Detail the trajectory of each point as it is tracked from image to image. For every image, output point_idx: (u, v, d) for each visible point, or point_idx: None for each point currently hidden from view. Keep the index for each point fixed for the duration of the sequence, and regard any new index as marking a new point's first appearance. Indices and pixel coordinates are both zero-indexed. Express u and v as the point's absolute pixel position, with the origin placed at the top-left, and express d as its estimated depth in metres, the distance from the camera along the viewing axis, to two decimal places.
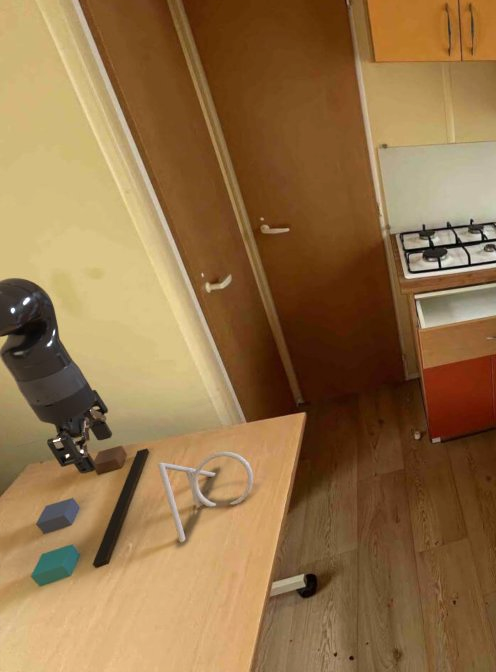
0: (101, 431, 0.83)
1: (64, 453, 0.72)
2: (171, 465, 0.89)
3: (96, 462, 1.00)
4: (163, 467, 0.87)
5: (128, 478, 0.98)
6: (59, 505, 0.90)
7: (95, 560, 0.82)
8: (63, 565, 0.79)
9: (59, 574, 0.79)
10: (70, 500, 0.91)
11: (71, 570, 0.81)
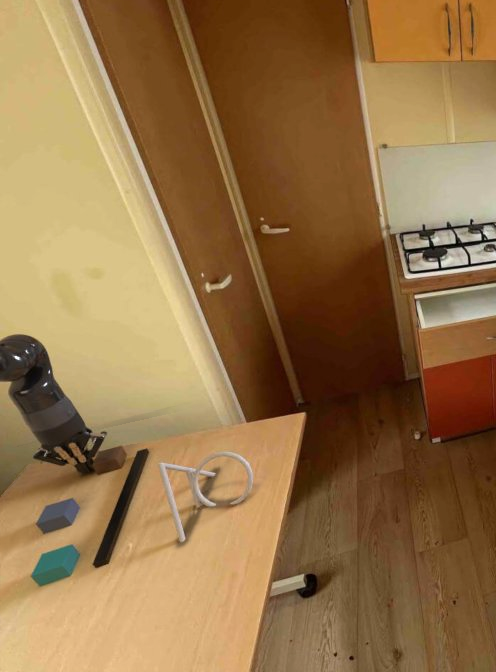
0: None
1: None
2: (171, 465, 0.89)
3: (96, 462, 1.00)
4: (163, 467, 0.87)
5: (128, 478, 0.98)
6: (59, 505, 0.90)
7: (95, 560, 0.82)
8: (63, 565, 0.79)
9: (59, 574, 0.79)
10: (70, 500, 0.91)
11: (71, 570, 0.81)
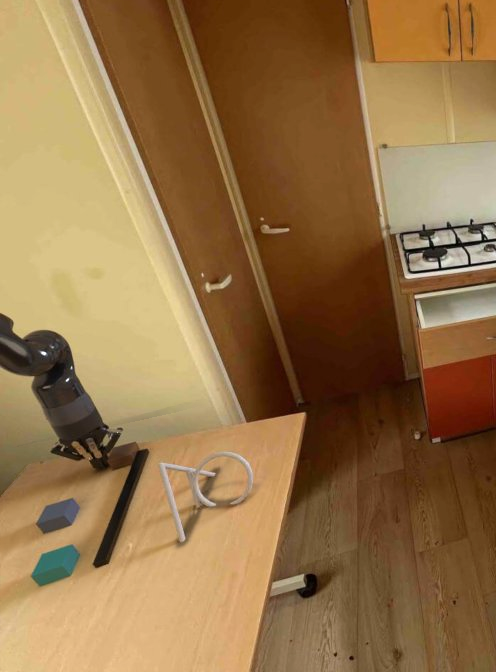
0: None
1: None
2: (171, 465, 0.89)
3: (111, 458, 1.01)
4: (163, 467, 0.87)
5: (128, 478, 0.98)
6: (59, 505, 0.90)
7: (95, 560, 0.82)
8: (63, 565, 0.79)
9: (59, 574, 0.79)
10: (70, 500, 0.91)
11: (71, 570, 0.81)
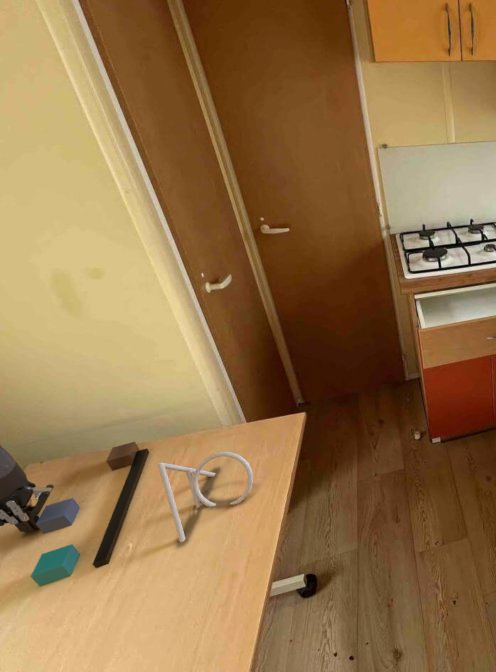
0: None
1: None
2: (171, 465, 0.89)
3: (110, 458, 1.01)
4: (163, 467, 0.87)
5: (128, 478, 0.98)
6: (59, 505, 0.90)
7: (95, 560, 0.82)
8: (63, 565, 0.79)
9: (59, 574, 0.79)
10: (70, 500, 0.91)
11: (71, 570, 0.81)
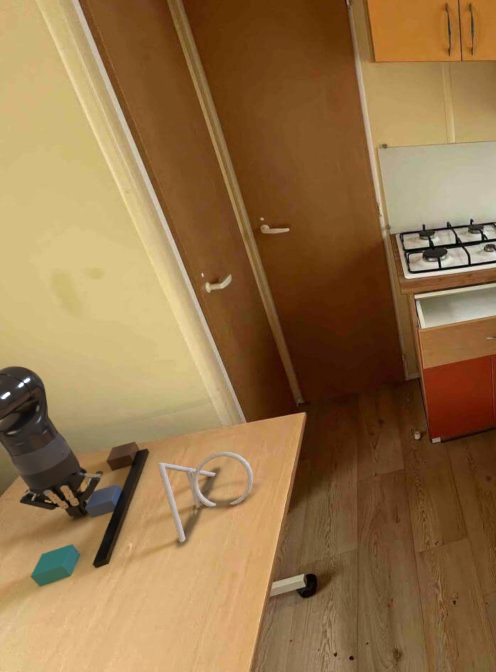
0: None
1: None
2: (171, 465, 0.89)
3: (110, 458, 1.01)
4: (163, 467, 0.87)
5: (128, 478, 0.98)
6: (105, 491, 0.93)
7: (95, 560, 0.82)
8: (63, 565, 0.79)
9: (59, 574, 0.79)
10: (116, 486, 0.94)
11: (71, 570, 0.81)
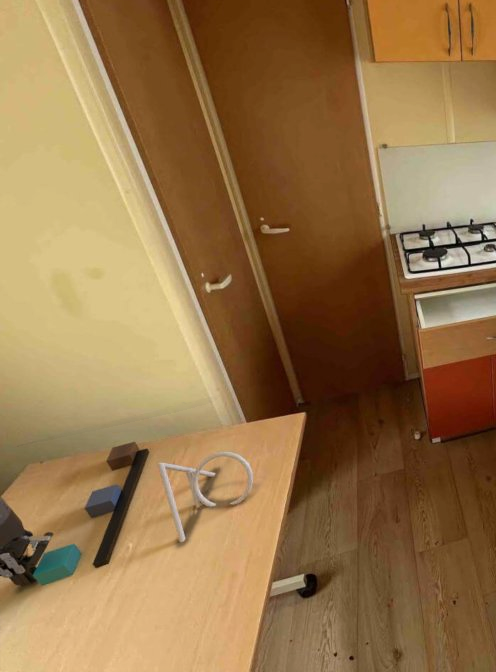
0: None
1: None
2: (171, 465, 0.89)
3: (110, 458, 1.01)
4: (163, 467, 0.87)
5: (128, 478, 0.98)
6: (105, 491, 0.93)
7: (95, 560, 0.82)
8: (65, 564, 0.79)
9: (61, 573, 0.79)
10: (115, 486, 0.94)
11: (73, 569, 0.81)
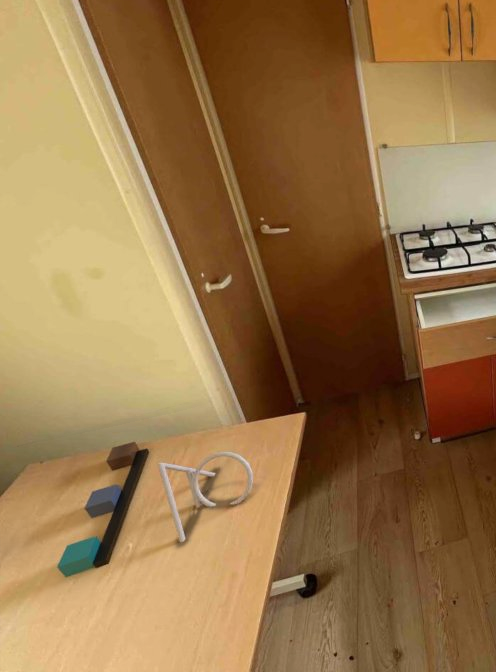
0: None
1: None
2: (171, 465, 0.89)
3: (110, 458, 1.01)
4: (163, 467, 0.87)
5: (128, 478, 0.98)
6: (104, 491, 0.93)
7: (95, 560, 0.82)
8: (88, 556, 0.81)
9: (84, 565, 0.81)
10: (115, 486, 0.94)
11: None
